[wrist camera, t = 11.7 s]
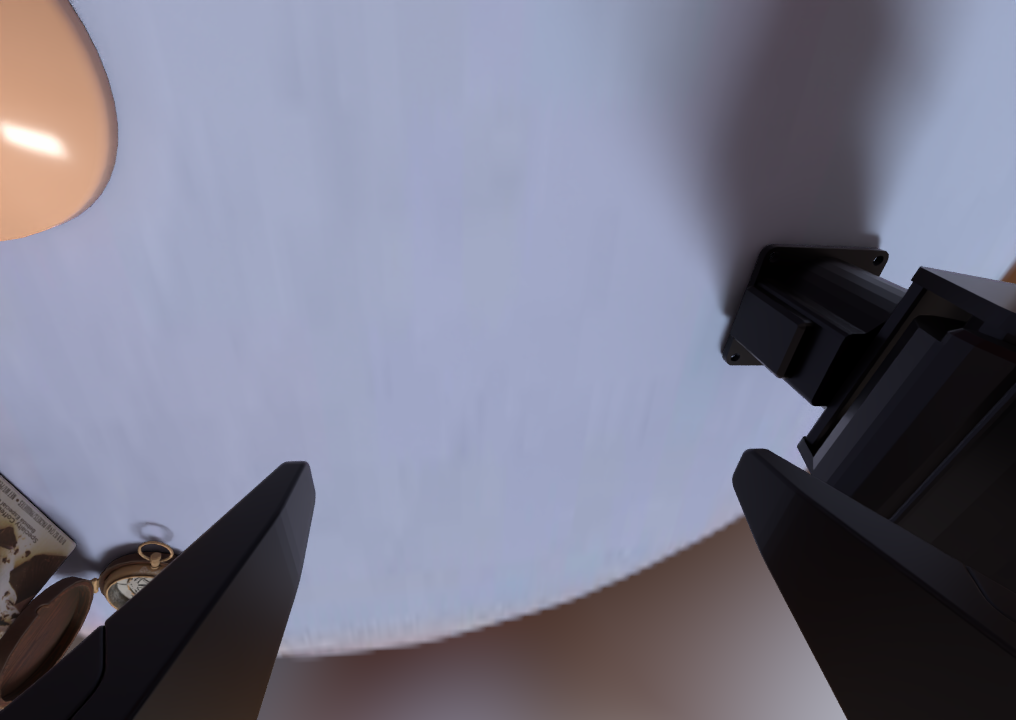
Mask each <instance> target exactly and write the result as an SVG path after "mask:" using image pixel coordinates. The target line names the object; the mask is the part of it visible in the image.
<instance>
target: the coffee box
mask: <svg viewBox="0 0 1016 720" xmlns="http://www.w3.org/2000/svg"><path fill="white" fill-rule="evenodd" d="M75 547H76V543H75V542H74V541H72V540H71V539H70V538H69V537H68V536H67V535H66V534H65V533H63V532H62V531H61V530H60V529H59V528H58V527H57V526H56V525H55V524H54V523H52V522H51V521H50V520H49V519H48V518H47V517H46V516H45V515H44V514H43V513H41V512H40V511H39V510H38V509H37V508H36V507H35V506H34V505H33V504H32V503H31V502H29V501H28V500H27V499H26V498H25V497H24V496H23V495H22V494H21V493H20V492H18V491H17V490H16V489H15V488H14V487H13V486H12V485H11V484H10V483H9V482H8V481H6V480H5V479H4V478H3V477H2V476H1V475H0V639H1V638H2V636H3V635H4V634H5V633H6V631H7V630H8V629H9V628H10V626H11V625H12V623H13V622H14V621H15V619H16V618H17V616H18V615H19V614H20V613H21V612H22V611H23V610H24V609H25V608H26V607H27V606H28V604H29V603H30V602H31V601H32V600H33V598H34V597H35V596H36V595H37V593H38V592H39V591H40V590H41V589H42V587H43V586H44V585H45V584H46V583H47V581H48V580H49V579H50V578H51V576H52V575H53V574H54V573H55V572H56V570H57V569H58V568H59V567H60V565H61V564H62V563H63V562H64V561H65V559H66V558H67V557H68V556H69V555H70V554H71V552H72V551H73V550H74V548H75Z"/></svg>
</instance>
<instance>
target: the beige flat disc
mask: <svg viewBox="0 0 1016 720" xmlns="http://www.w3.org/2000/svg"><path fill="white" fill-rule="evenodd" d="M117 147H118V123H117V117H116V110H115V103H114V99H113V95H112V92H111V88H110V85H109V81H108V78H107V75H106V73H105V70H104V67H103V65H102V62H101V60H100V57H99V55H98V52H97V50H96V49H95V47H94V45H93V43H92V41H91V39H90V37H89V35H88V33H87V31H86V29H85V27H84V25H83V24H82V22H81V21H80V19H79V17H78V16H77V14H76V13H75V11H74V9H73V8H72V6H71V5H70V3H69V1H68V0H0V241H5V240H11V239H18V238H23V237H26V236H29V235H33V234H36V233H39V232H42V231H45V230H47V229H50V228H53V227H56V226H58V225H61V224H64V223H66V222H68V221H70V220H72V219H74V218H75V217H77V216H79V215H80V214H82V213H83V212H84V211H85V210H87V209H88V208H89V207H91V206H92V204H93V203H94V202H95V201H96V200H97V199H98V198H99V196H100V195H101V194H102V192H103V191H104V189H105V187H106V185H107V184H108V182H109V180H110V177H111V174H112V171H113V168H114V165H115V161H116V154H117Z"/></svg>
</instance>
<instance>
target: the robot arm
mask: <svg viewBox="0 0 1016 720" xmlns="http://www.w3.org/2000/svg"><path fill="white" fill-rule="evenodd" d="M773 252H775V253H774V256H773V257H772V258H771V259H769V257H770V255H771V254H772V253H773ZM876 257H877V258H876ZM875 258H876V259H875ZM888 258H889V254H888V253H887V252H886V251H884V250H881V249H878V248H862V247H836V246H811V245H785V244H770V245H768V246H766V247H764V248H763V249H762V251H761V252H760V254H759V257H758V260H757V262H756V265H755V268H754V271H753V273H752V276H751V279H750V281H749V284H748V287H747V289H746V291H745V294H744V297H743V299H742V302H741V305H740V307H739V310H738V313H737V316H736V318H735V321H734V324H733V326H732V329H731V332H730V335H729V338H728V341H727V344H726V346H725V349H724V352H723V356H722V357H723V359H724V360H725V361H726V362H727V363H728V364H729V365H764V366H765V367H766V368H767V369H768V370H770V371H771V372H772V373H773V374H774V375H775V376H776V377H778V378H782V379H783V380H784V381H785V382H787V383H788V384H789V385H790V386H791V387H792V388H793V389H794V390H796V391H797V392H798V393H799V394H800V395H801V396H802V397H803V398H805V399H806V400H807V401H808V402H809V403H810V404H811V405H813V406H821V407H823V408H824V409H825V410H824V412H823V413H822V415H821V416H820V418H819V419H818V420H817V422H816V423H815V425H814V426H813V428H812V429H811V431H810V432H809V433H808V435H807V436H804V437H803V438H802V439H801V441H800V442H799V444H798V445H797V448H798V450H799V452H800V454H801V456H802V458H803V460H804V462H805V464H806V466H807V467H808V469H809V471H810V473H811V474H809V473H807V472H806V471H804V470H802V469H800V468H799V467H797V466H795V465H793V464H792V463H790V462H788V461H787V460H785V459H783V458H781V457H780V456H778V455H776V454H775V453H773V452H771V451H769V450H767V449H747V450H746V451H744V453H743V454H742V456H741V459H740V461H739V463H738V465H737V467H736V469H735V472H734V474H733V478H732V483H733V487H734V490H735V492H736V495H737V497H738V500H739V502H740V505H741V507H742V510H743V512H744V515H745V517H746V519H747V522H748V524H749V527H750V529H751V532H752V534H753V537H754V539H755V542H756V544H757V546H758V548H759V551H760V553H761V555H762V557H763V559H764V561H765V563H766V565H767V567H768V569H769V571H770V573H771V575H772V577H773V578H774V580H775V582H776V584H777V586H778V588H779V590H780V592H781V594H782V595H783V597H784V599H785V601H786V603H787V605H788V607H789V609H790V611H791V613H792V615H793V616H794V618H795V620H796V622H797V624H798V626H799V628H800V630H801V632H802V634H803V636H804V638H805V640H806V641H807V643H808V645H809V647H810V649H811V651H812V653H813V655H814V656H815V659H816V660H817V662H818V664H819V666H820V668H821V670H822V672H823V674H824V676H825V678H826V680H827V681H828V683H829V685H830V687H831V689H832V691H833V693H834V695H835V697H836V699H837V700H838V703H839V705H840V706H841V708H842V710H843V712H844V714H845V716H846V718H847V720H1016V284H1013V283H1008V282H1003V281H997V280H992V279H987V278H981V277H976V276H971V275H965V274H960V273H955V272H949V271H944V270H938V269H933V268H928V267H922V266H920V267H919V269H918V270H917V272H916V273H915V275H914V276H913V278H912V279H911V281H913V283H912V284H911V286H910V287H909V289H905V288H903V287H901V286H899V285H897V284H894V283H892V282H890V281H888V280H886V279H883V278H881V277H879V276H880V274H881V272H882V270H883V269H884V267H885V265H886V263H887V261H888ZM874 259H875V261H874ZM733 354H735V356H733V357H731V356H732V355H733ZM314 505H315V488H314V483H313V479H312V474H311V470H310V466H309V464H308V463H307V462H306V461H288V462H284V463H282V464H281V465H280V466H279V467H278V468H277V469H275V470H274V471H273V472H272V473H271V474H270V475H269V476H268V477H266V478H265V479H264V480H263V481H262V482H261V483H260V484H259V485H257V486H256V487H255V488H254V489H253V490H252V491H251V492H250V493H248V494H247V495H246V496H245V497H244V498H243V499H242V500H241V501H240V502H238V503H237V504H236V505H235V506H234V507H233V508H232V509H231V510H229V511H228V512H227V513H226V514H225V515H224V516H223V517H222V518H220V519H219V520H218V521H217V522H216V523H215V524H214V525H213V526H211V527H210V528H209V529H208V530H207V531H206V532H205V533H204V534H202V535H201V536H200V537H199V538H198V539H197V540H196V541H195V542H193V543H192V544H191V545H190V546H189V547H188V548H187V549H186V550H185V551H183V552H182V553H181V554H180V555H179V556H178V557H177V558H176V559H174V560H173V561H172V562H171V563H170V564H169V565H168V566H167V567H165V568H164V569H163V570H162V571H161V572H160V573H159V574H158V575H156V576H155V577H154V578H153V579H152V580H151V581H150V582H149V583H147V584H146V585H145V586H144V587H143V588H142V589H141V590H140V591H138V592H137V593H136V594H135V595H134V596H133V597H132V598H131V599H130V600H128V601H127V602H126V603H125V604H124V605H123V606H122V607H121V608H119V609H118V610H117V611H116V612H115V613H114V614H113V615H112V616H110V617H109V618H108V619H107V620H106V621H105V626H99V627H98V628H97V629H96V630H94V631H93V632H92V633H91V634H90V635H89V636H88V637H87V638H85V639H84V640H83V641H82V642H81V643H80V644H79V645H78V646H76V647H75V648H74V649H73V650H72V651H71V652H70V653H68V654H67V655H66V656H65V657H64V658H63V659H62V660H60V661H59V662H58V663H57V664H56V665H55V666H53V667H52V668H51V669H50V670H49V671H48V672H46V673H45V674H44V675H43V676H42V677H41V678H39V679H38V680H37V681H36V682H35V683H34V684H33V685H31V686H30V687H29V688H28V689H27V690H25V691H24V692H23V693H22V694H20V695H19V696H18V697H17V698H16V699H14V700H13V701H12V702H11V703H9V704H8V705H7V706H6V707H4V708H3V709H2V710H1V711H0V720H257V717H258V714H259V711H260V708H261V705H262V701H263V698H264V695H265V692H266V688H267V685H268V682H269V679H270V676H271V673H272V669H273V666H274V663H275V660H276V657H277V653H278V650H279V647H280V644H281V641H282V637H283V634H284V631H285V628H286V625H287V621H288V618H289V615H290V612H291V609H292V605H293V602H294V599H295V596H296V592H297V589H298V585H299V582H300V577H301V573H302V568H303V563H304V558H305V552H306V547H307V542H308V537H309V532H310V526H311V521H312V516H313V511H314Z"/></svg>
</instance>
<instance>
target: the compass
mask: <svg viewBox="0 0 1016 720" xmlns="http://www.w3.org/2000/svg"><path fill="white" fill-rule="evenodd" d="M147 544H157V545H162V546H164V547H166V548H167V549H168V550H169V551H170V554H169V553H160V552H142V551H141V547H142V546H144V545H147ZM173 554H174V553H173V550H172V548H171V547H170V546H168V545H166V544H164V543H161V542H157V541H148V542H144V543H142V544H141V545H139V547H138V553H134V554H130V555H125V556H122V557H120V558H118V559H116V560H114V561H112V562H111V563H110V564H109V565H108V567H107V568H106V569H105V570H104V572H102V573H101V575H100V577H99V579H97V578H93V579H92V580H86V579H82V578H77V577H73V576H72V577H68V578H64V579H62V580H60V581H58V582H56V583H55V584H53V585H51V586H50V587H48V588H47V589H46V590H44V591H43V592H42V593H41V594H39V595H38V596H37V597H36V598H35V599H33V600H32V601H31V602H30V603H29V604H28V606H27V607H26V608H25V609H24V610H23V611H22V612H21V613H20V614H19V615H18V616H17V618H16V619H15V621H14V622H13V623H12V625H11V626H10V628H9V629H8V630H7V631H6V633H5V634H4V635H3V636H2V638H1V639H0V709H3V708H4V707H6V706H7V705H8V704H9V703H11V702H12V701H13V700H14V699H16V698H17V697H18V696H19V695H20V694H22V693H23V692H24V691H25V690H27V689H28V688H29V687H30V686H31V685H33V684H34V683H35V682H36V681H37V680H38V679H39V678H41V677H42V676H43V675H44V674H45V673H46V672H48V671H49V670H50V669H51V668H52V667H53V666H55V665H56V664H57V663H58V662H59V661H60V660H61V658H62V657H63V656H64V654H65V653H66V651H67V650H68V648H69V647H70V645H71V644H72V642H73V641H74V639H75V637H76V636H77V634H78V632H79V631H80V629H81V627H82V625H83V623H84V621H85V619H86V616H87V614H88V612H89V610H90V606H91V603H92V600H93V593H97V592H98V588H99V587H100V590H101V593H102V594H103V595H104V596H105V598H106V599H107V601H108V602H109V603H110V604H111V606H113V607H114V608H115V609H117V610H118V609H119V608H121V607H122V606H123V605H124V604H125V603H126V602H127V601H128V600H130V599H131V598H132V597H133V596H134V595H135V594H136V593H137V592H138V591H140V590H141V589H142V588H143V587H144V586H145V585H146V584H147V583H149V582H150V581H151V580H152V579H153V578H154V577H155V576H156V575H158V574H159V573H160V572H161V571H162V570H163V569H164V568H165V567H167V566H168V565H169V564H170V563H171V562H172V561H173V560H174V559H176V558H177V557H178V556H176V555H173Z"/></svg>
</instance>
